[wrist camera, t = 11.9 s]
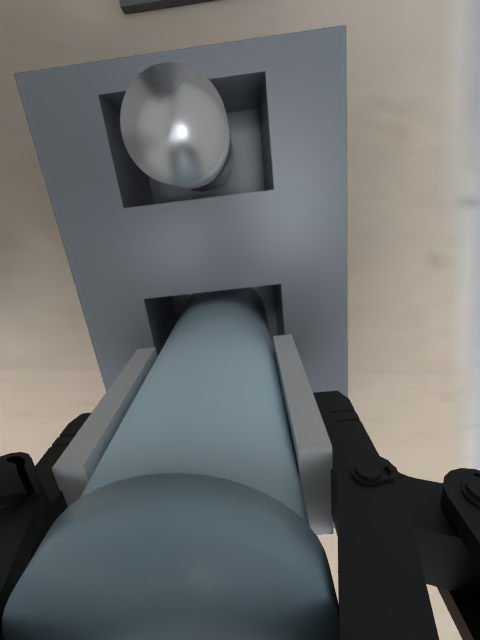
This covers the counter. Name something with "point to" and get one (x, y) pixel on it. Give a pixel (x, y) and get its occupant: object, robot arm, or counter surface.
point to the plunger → (177, 127)
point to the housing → (206, 198)
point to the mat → (152, 4)
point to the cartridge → (189, 506)
